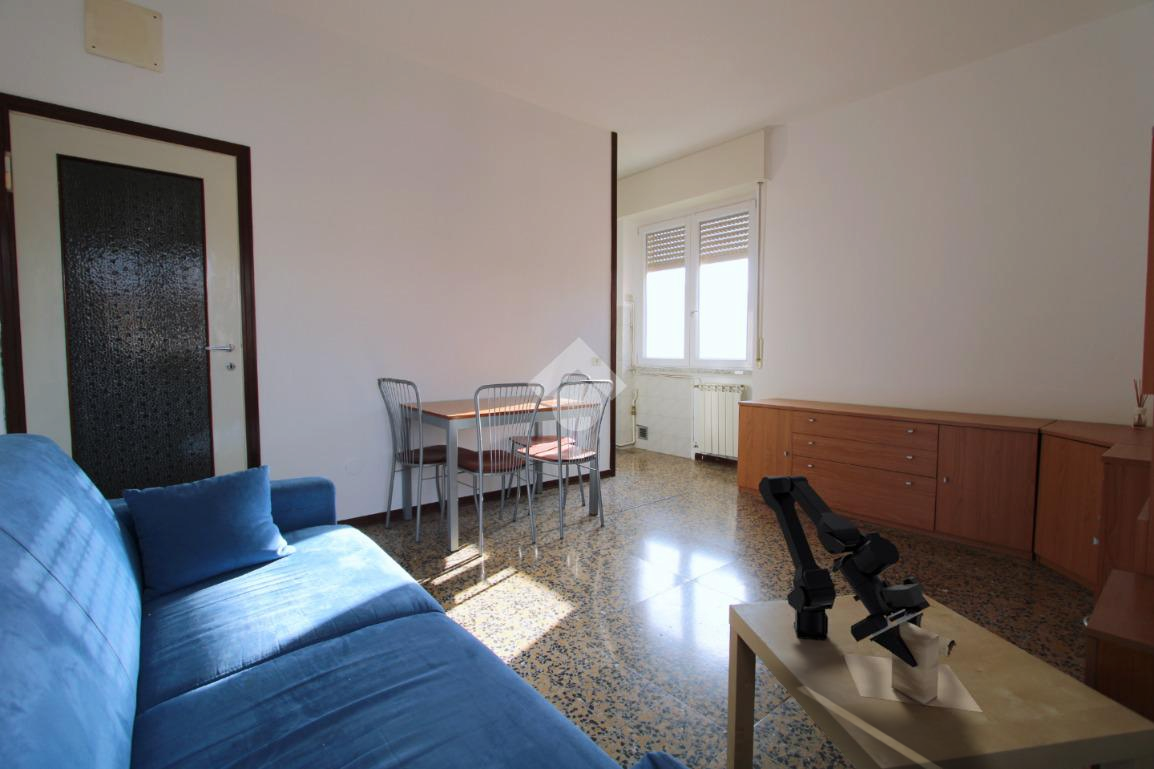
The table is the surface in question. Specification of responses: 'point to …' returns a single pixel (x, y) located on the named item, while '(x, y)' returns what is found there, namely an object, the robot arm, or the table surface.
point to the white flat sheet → (877, 683)
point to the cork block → (924, 676)
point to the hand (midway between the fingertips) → (922, 662)
